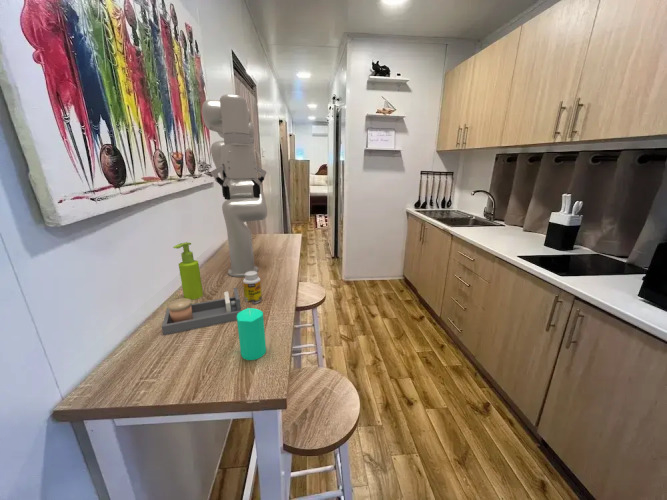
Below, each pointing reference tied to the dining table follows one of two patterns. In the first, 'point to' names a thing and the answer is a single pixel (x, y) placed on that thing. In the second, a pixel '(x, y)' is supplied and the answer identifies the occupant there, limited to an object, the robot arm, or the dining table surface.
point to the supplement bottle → (252, 287)
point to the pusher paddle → (227, 302)
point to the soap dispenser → (189, 273)
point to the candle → (251, 333)
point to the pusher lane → (205, 315)
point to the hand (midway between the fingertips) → (242, 198)
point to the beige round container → (180, 310)
